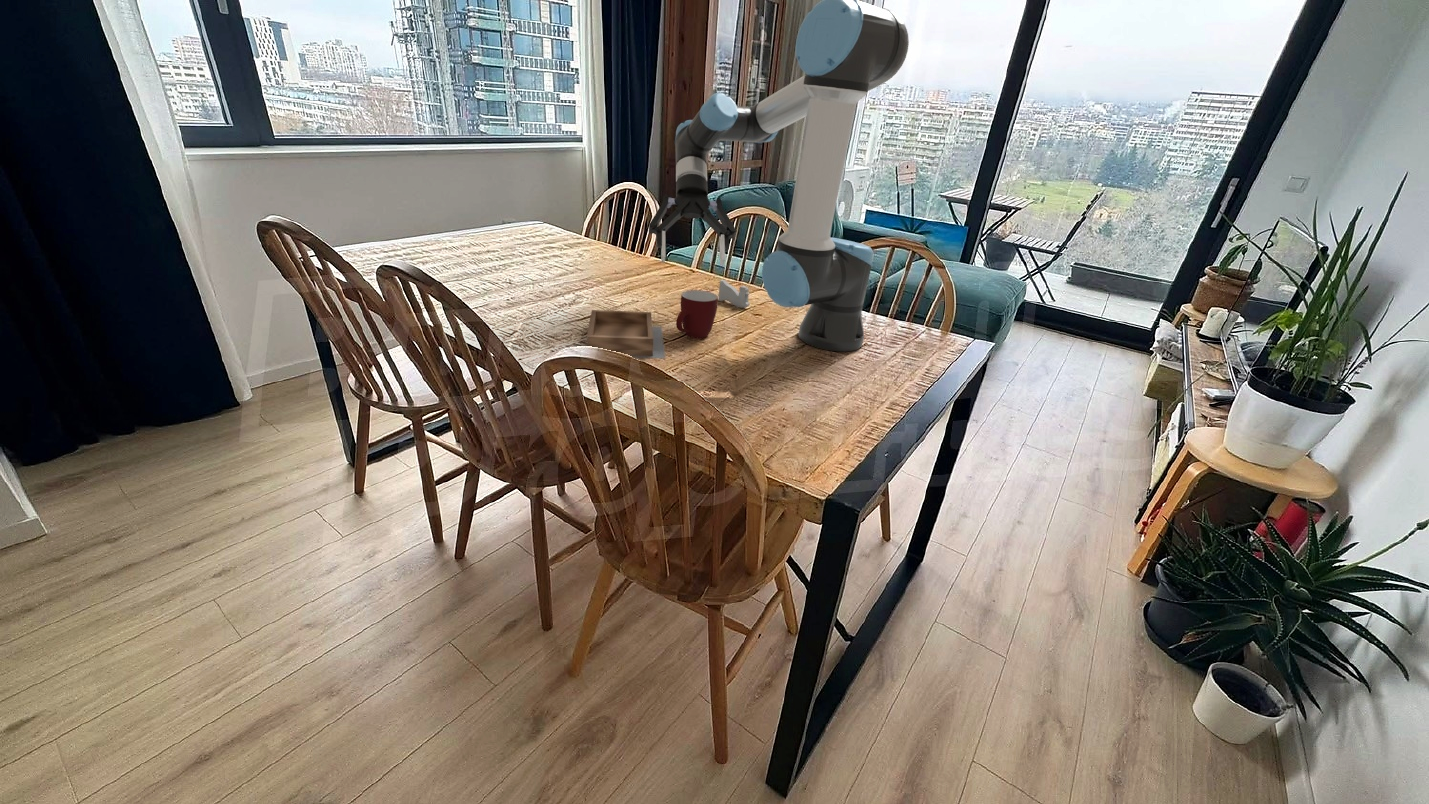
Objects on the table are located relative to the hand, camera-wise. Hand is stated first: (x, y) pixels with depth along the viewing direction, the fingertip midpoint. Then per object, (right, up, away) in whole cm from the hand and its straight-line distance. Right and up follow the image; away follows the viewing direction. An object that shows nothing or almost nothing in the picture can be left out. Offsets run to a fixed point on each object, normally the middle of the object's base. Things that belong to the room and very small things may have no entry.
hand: (693, 261), depth 130 cm
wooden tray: (-15, -19, -9) cm, 26 cm away
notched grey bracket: (+10, -6, +23) cm, 26 cm away
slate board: (-14, -20, -8) cm, 26 cm away
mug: (0, -18, -2) cm, 19 cm away
